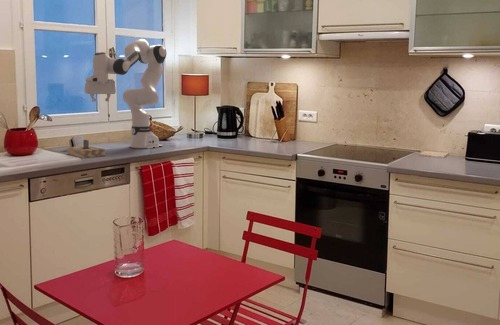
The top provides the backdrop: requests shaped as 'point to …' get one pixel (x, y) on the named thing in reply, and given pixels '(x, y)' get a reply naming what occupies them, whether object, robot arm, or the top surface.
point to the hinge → (76, 141)
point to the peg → (85, 144)
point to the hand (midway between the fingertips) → (100, 101)
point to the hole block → (86, 151)
